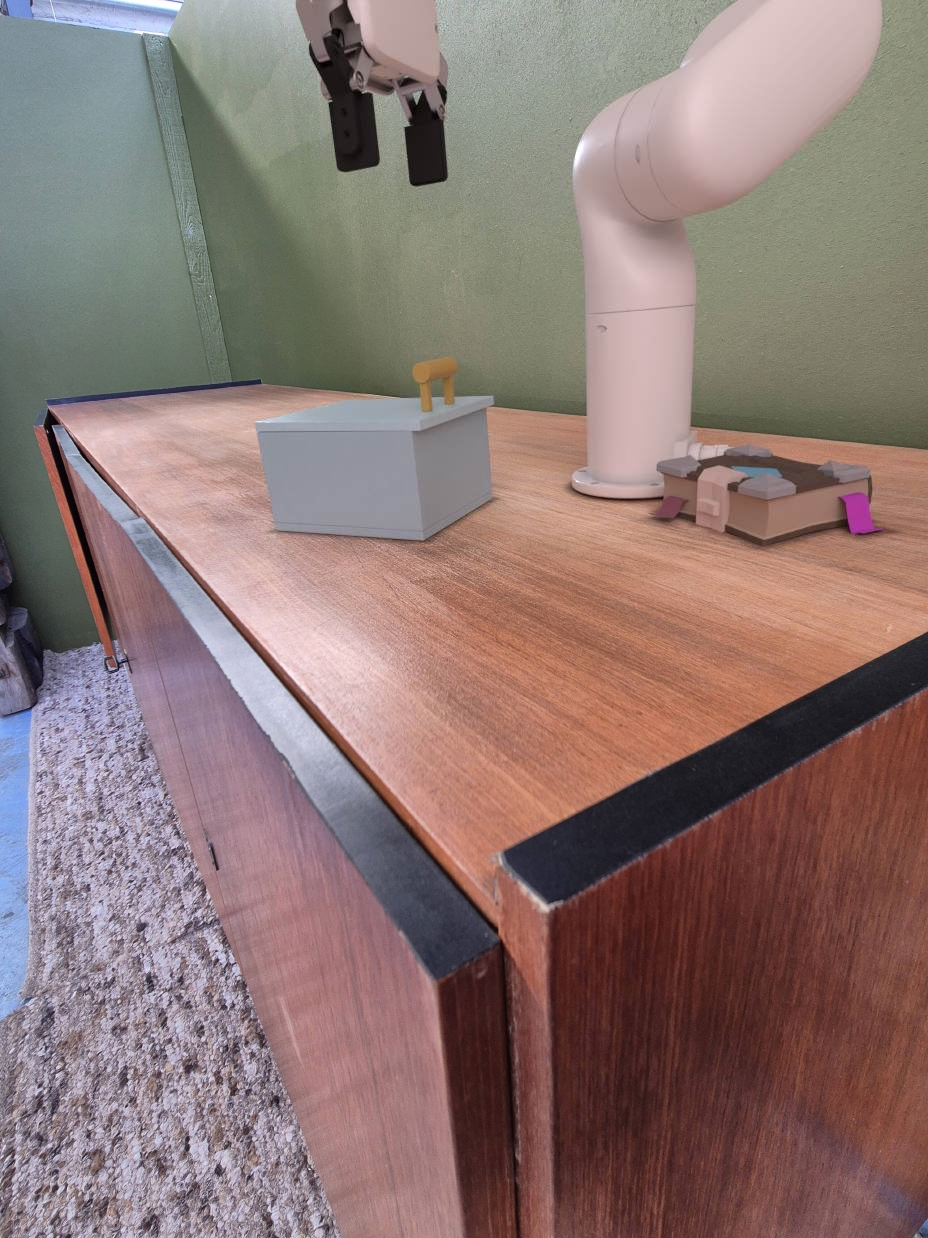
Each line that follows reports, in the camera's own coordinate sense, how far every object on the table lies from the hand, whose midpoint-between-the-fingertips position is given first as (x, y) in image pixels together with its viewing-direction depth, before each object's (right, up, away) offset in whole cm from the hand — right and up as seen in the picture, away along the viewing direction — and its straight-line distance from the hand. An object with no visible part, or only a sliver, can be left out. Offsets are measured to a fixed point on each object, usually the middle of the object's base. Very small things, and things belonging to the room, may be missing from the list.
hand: (396, 176), depth 52 cm
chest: (-2, -23, +15) cm, 27 cm away
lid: (-3, -15, +11) cm, 18 cm away
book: (+27, -24, +6) cm, 37 cm away
